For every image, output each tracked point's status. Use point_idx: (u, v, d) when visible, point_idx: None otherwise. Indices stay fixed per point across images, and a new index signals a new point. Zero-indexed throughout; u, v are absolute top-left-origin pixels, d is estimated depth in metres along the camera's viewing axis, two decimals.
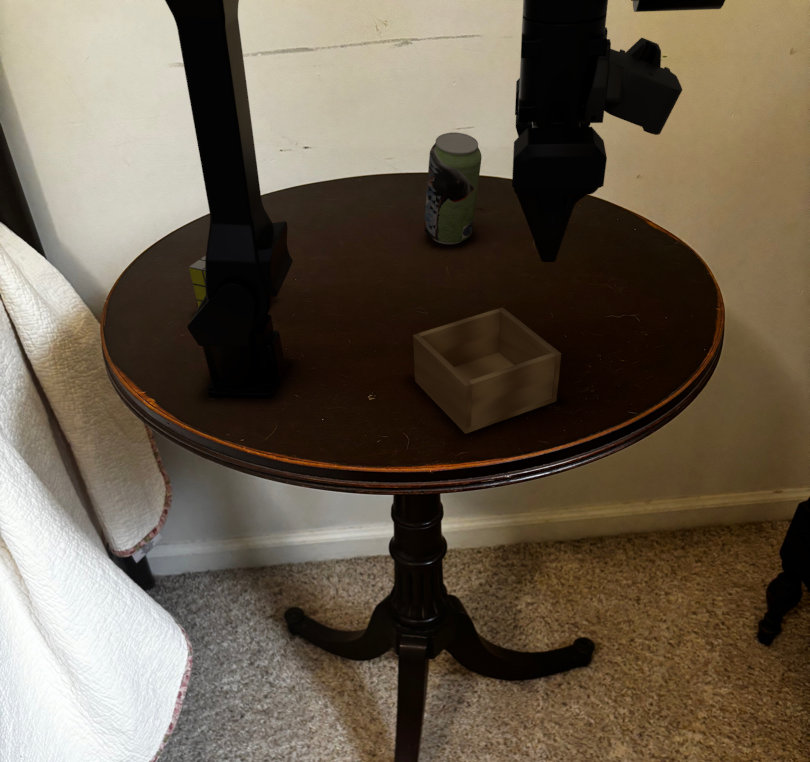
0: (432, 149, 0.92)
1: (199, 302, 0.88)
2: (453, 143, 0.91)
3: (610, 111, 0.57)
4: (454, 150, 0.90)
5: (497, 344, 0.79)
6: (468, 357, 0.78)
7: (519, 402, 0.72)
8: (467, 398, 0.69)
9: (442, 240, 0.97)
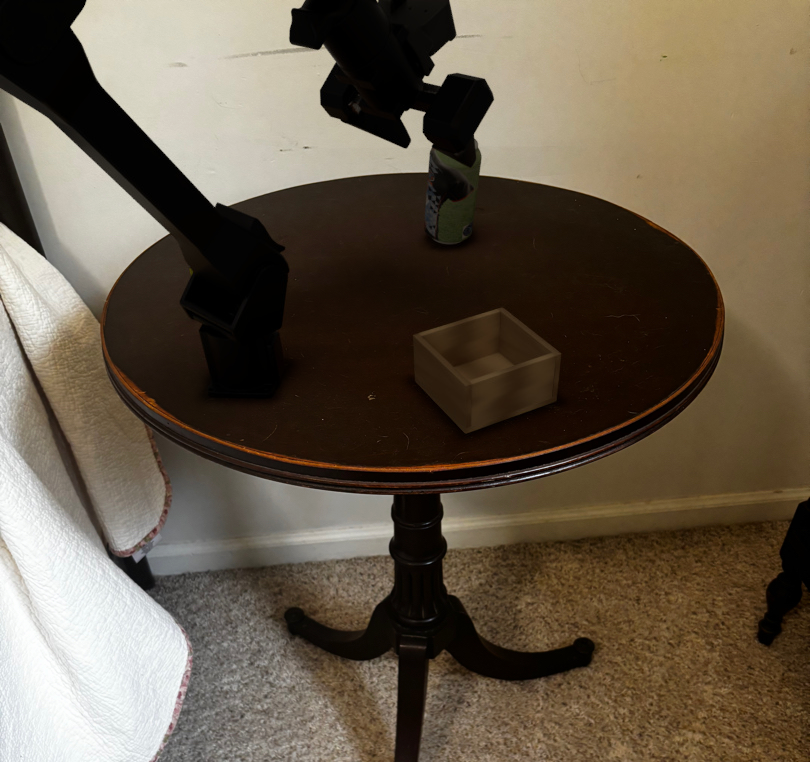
0: (432, 149, 0.92)
1: None
2: None
3: (430, 54, 0.74)
4: None
5: (497, 344, 0.79)
6: (468, 357, 0.78)
7: (519, 402, 0.72)
8: (467, 398, 0.69)
9: (442, 240, 0.97)
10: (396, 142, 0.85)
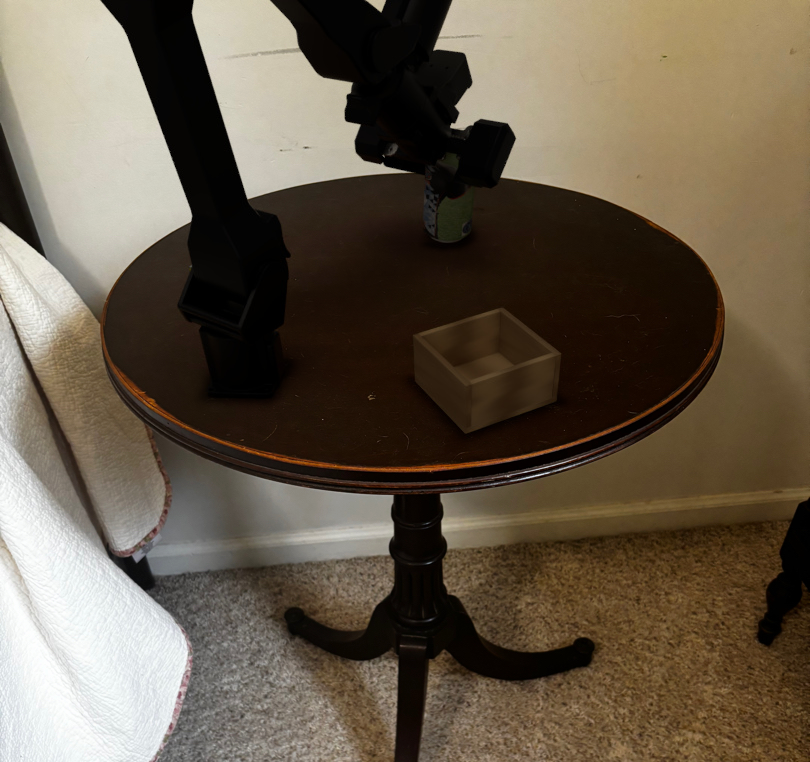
0: None
1: None
2: None
3: (455, 104, 0.85)
4: None
5: (497, 344, 0.79)
6: (468, 357, 0.78)
7: (519, 402, 0.72)
8: (467, 398, 0.69)
9: (442, 239, 0.97)
10: None
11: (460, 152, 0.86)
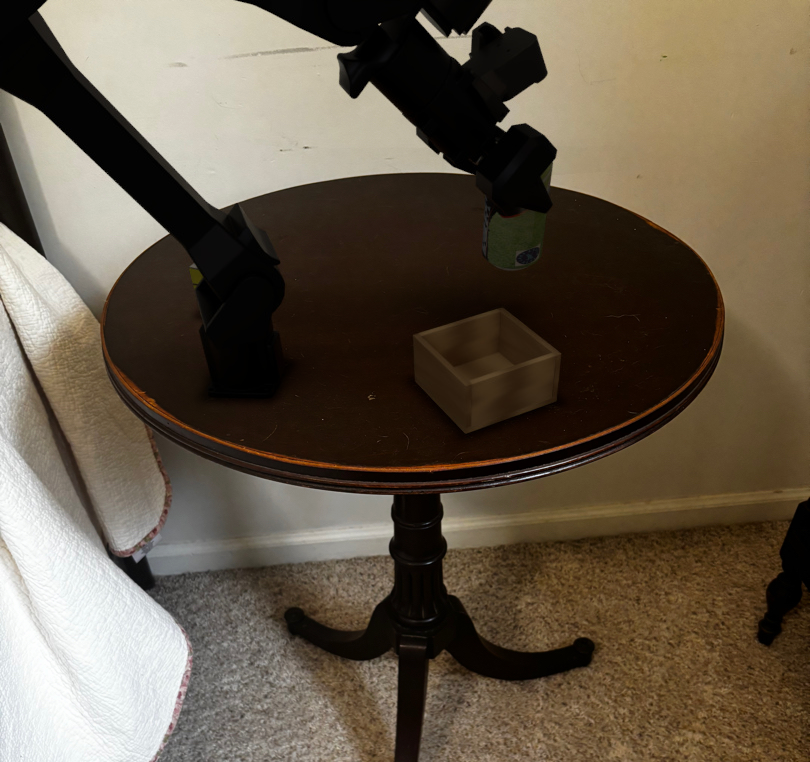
0: None
1: None
2: None
3: (507, 99, 0.67)
4: None
5: (497, 344, 0.79)
6: (468, 357, 0.78)
7: (519, 402, 0.72)
8: (467, 398, 0.69)
9: (491, 262, 0.80)
10: None
11: None
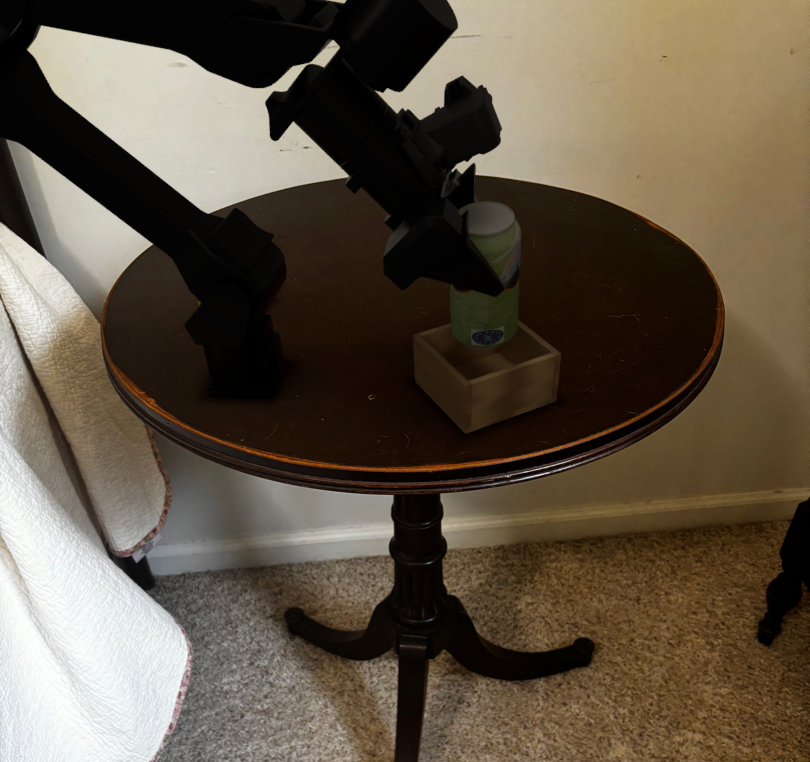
0: None
1: (199, 302, 0.88)
2: (479, 216, 0.64)
3: (446, 166, 0.60)
4: None
5: None
6: (468, 357, 0.78)
7: (519, 402, 0.72)
8: (467, 398, 0.69)
9: (453, 333, 0.72)
10: None
11: None
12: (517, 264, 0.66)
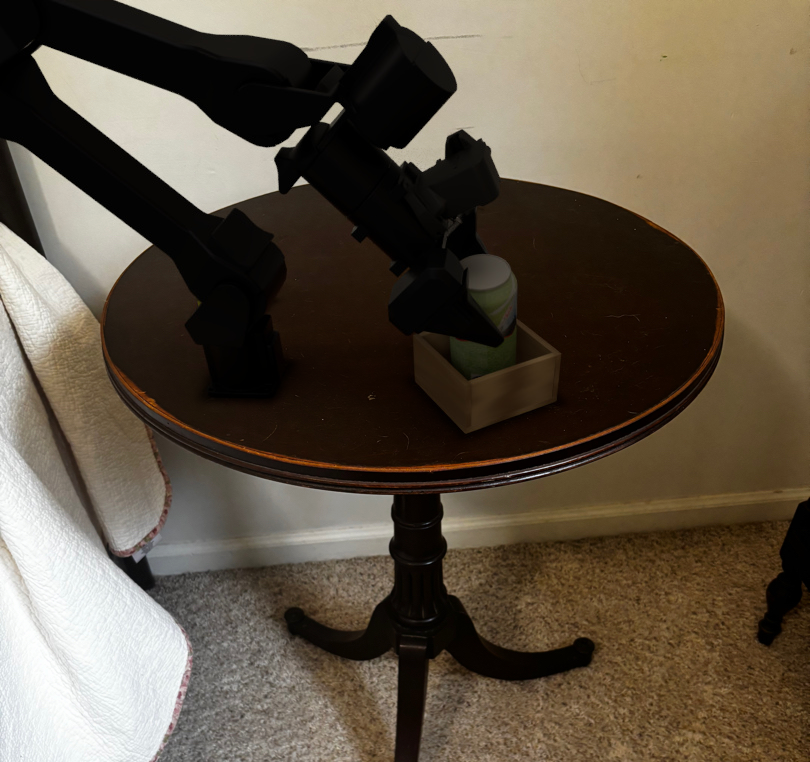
0: None
1: (199, 302, 0.88)
2: (477, 270, 0.67)
3: (447, 217, 0.62)
4: None
5: None
6: None
7: (519, 402, 0.72)
8: (467, 398, 0.69)
9: None
10: None
11: None
12: (514, 314, 0.69)
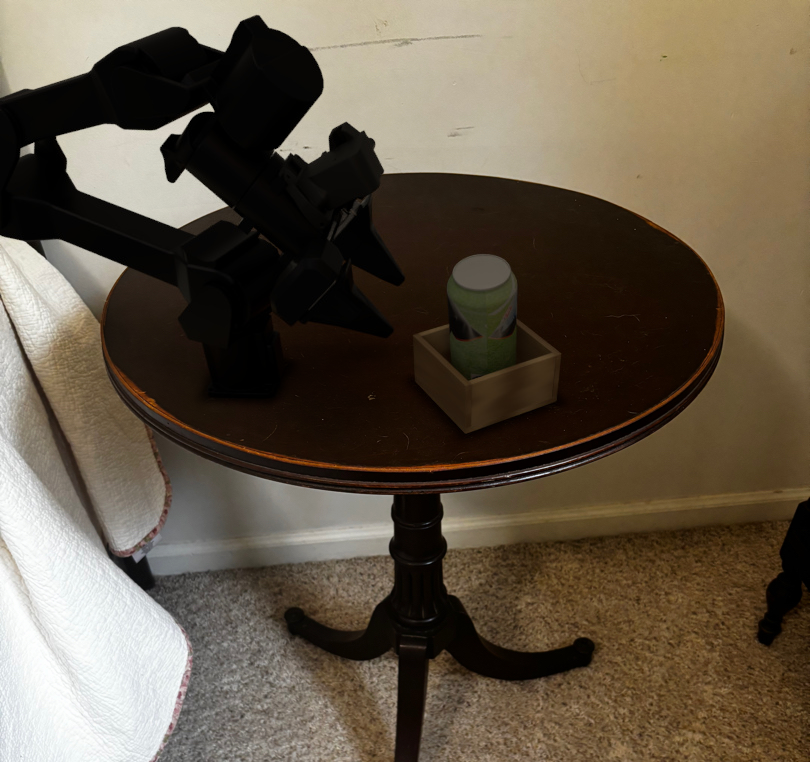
0: None
1: None
2: (477, 270, 0.67)
3: (330, 208, 0.63)
4: (460, 279, 0.67)
5: None
6: None
7: (519, 402, 0.72)
8: (467, 398, 0.69)
9: None
10: (380, 277, 0.74)
11: None
12: (514, 314, 0.69)
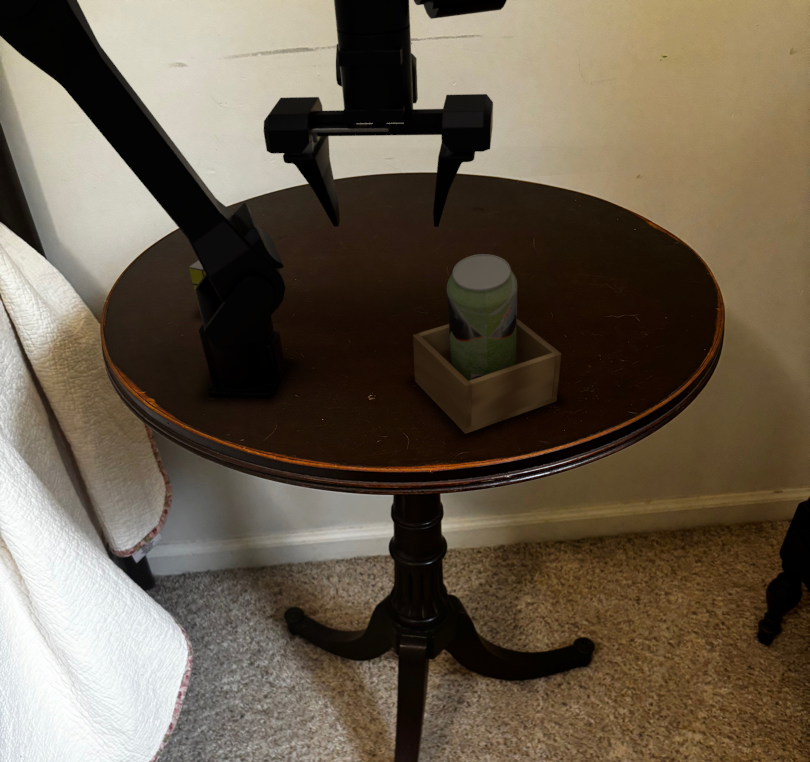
0: None
1: None
2: (477, 270, 0.67)
3: None
4: (460, 279, 0.67)
5: None
6: None
7: (519, 402, 0.72)
8: (467, 398, 0.69)
9: None
10: (334, 210, 0.71)
11: (429, 125, 0.66)
12: (514, 314, 0.69)
